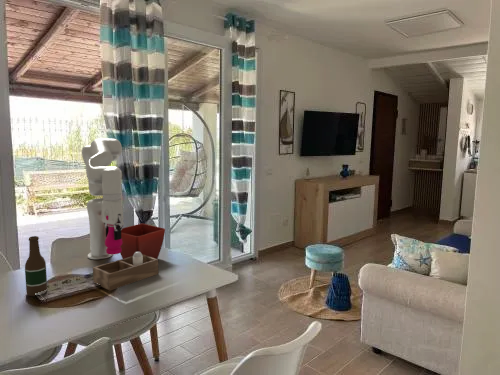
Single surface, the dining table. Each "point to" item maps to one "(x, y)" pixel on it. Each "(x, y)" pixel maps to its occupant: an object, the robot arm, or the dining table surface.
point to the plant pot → (142, 240)
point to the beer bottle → (35, 269)
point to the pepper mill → (112, 241)
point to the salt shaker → (137, 258)
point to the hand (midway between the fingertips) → (113, 237)
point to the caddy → (124, 272)
